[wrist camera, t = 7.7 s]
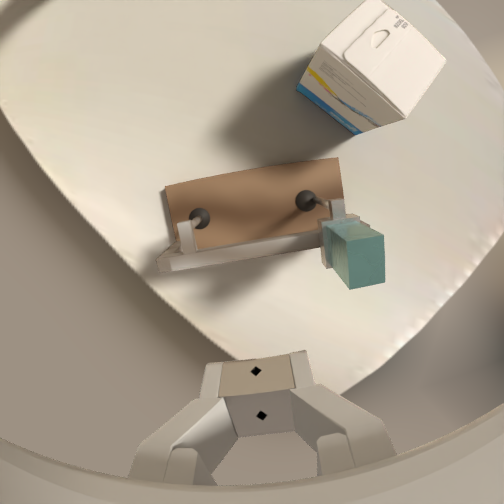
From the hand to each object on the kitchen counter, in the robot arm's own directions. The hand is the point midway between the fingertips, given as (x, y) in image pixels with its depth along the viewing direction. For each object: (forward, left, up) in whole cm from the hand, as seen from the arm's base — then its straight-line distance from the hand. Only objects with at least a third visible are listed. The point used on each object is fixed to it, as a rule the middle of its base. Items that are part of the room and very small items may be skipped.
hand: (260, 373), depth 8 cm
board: (-2, +1, -23) cm, 23 cm away
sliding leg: (0, +7, -22) cm, 23 cm away
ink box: (-14, +13, -24) cm, 30 cm away
